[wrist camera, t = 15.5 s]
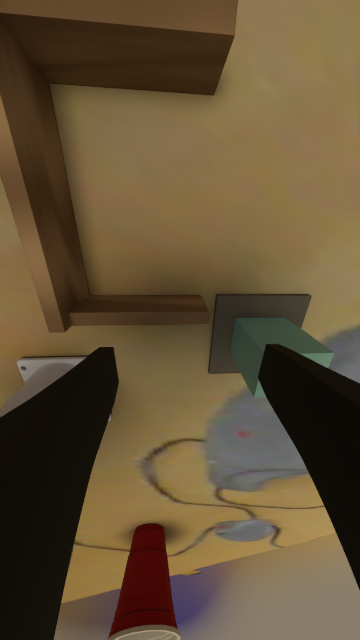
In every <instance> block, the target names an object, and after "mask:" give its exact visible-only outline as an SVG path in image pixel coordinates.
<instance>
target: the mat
mask: <svg viewBox="0 0 360 640" xmlns="http://www.w3.org/2000/svg"><path fill="white" fill-rule="evenodd" d="M310 299H311V295H309V294H216V302H215V311H214V321H213V330H212V340H211V349H210V359H209V369H208V372H209V374H219V373H241V372H240V370H239V369H238V367H237V365H236V363H235V361H234V359H233V357H232V355H231V354H230V349H231V343H232V337H233V331H234V324H235V318H286V319H288V320H289V321H291V322H292V323H293V324H295V325H296V326H298V327H299V328H300V329H301V327H302V324H303V321H304V318H305V314H306V311H307V308H308V305H309V302H310Z"/></svg>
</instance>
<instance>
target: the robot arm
mask: <svg viewBox="0 0 360 640" xmlns="http://www.w3.org/2000/svg"><path fill="white" fill-rule="evenodd" d="M17 366H18V368H19V370H20V373H21V375H22V377H23V380H24V382H25V383H24V384H23V385H22V386H21V387H20V388H19V389H18V390H17V391H16V392H15V393H14V395H13V396H12V397H11V398H10V399H9V400H8V401H7V402H6V403H5V404H4V405H3V406H2V407H1V408H0V640H53V639H54V635H55V629H56V625H57V620H58V615H59V610H60V605H61V600H62V595H63V590H64V586H65V581H66V577H67V572H68V569H69V565H70V562H71V557H72V552H73V546H74V540H75V536H76V532H77V528H78V524H79V519H80V515H81V511H82V507H83V502H84V498H85V494H86V491H87V487H88V483H89V479H90V475H91V471H92V467H93V464H94V461H95V458H96V454H97V452H98V449H99V446H100V443H101V440H102V437H103V434H104V431H105V428H106V426H107V423H108V422H110V421H111V418H112V416H111V411H112V408H113V405H114V402H115V397H116V393H117V388H118V383H119V381H118V374H117V367H116V361H115V354H114V348H113V347H100V348H98V349H97V350H95V351H94V352H93V353H91V354H90V355H89V356H87V357H50V358H21V359H19V360H18V361H17ZM25 367H26V368H25ZM258 379H259V382H260V384H261V387H262V389H263V391H264V393H265V396H266V398H267V399H268V401H269V403H270V404H271V406H272V408H273V410H274V411H275V413H276V415H277V416H278V418H279V420H280V421H281V423H282V425H283V426H284V428H285V430H286V431H287V433H288V435H289V436H290V438H291V440H292V441H293V443H294V445H295V446H296V448H297V450H298V452H299V454H300V456H301V457H302V459H303V462H304V464H305V466H306V468H307V470H308V472H309V474H310V476H311V478H312V480H313V482H314V484H315V486H316V488H317V491H318V493H319V495H320V497H321V499H322V502H323V504H324V506H325V508H326V510H327V512H328V515H329V517H330V519H331V522H332V524H333V526H334V529H335V531H336V533H337V536H338V538H339V540H340V542H341V545H342V547H343V550H344V552H345V554H346V557H347V559H348V562H349V564H350V567H351V569H352V572H353V574H354V577H355V579H356V582H357V584H358V587H359V589H360V383H357V382H355V381H353V380H351V379H349V378H347V377H345V376H343V375H341V374H339V373H336V372H334V371H332V370H330V369H328V368H326V367H324V366H323V365H321V364H319V363H317V362H315V361H313V360H311V359H309V358H307V357H305V356H303V355H301V354H299V353H297V352H295V351H293V350H291V349H289V348H287V347H285V346H282V345H280V344H266V346H265V350H264V354H263V358H262V362H261V366H260V370H259V374H258Z"/></svg>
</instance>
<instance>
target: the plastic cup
mask: <svg viewBox="0 0 360 640" xmlns="http://www.w3.org/2000/svg"><path fill="white" fill-rule="evenodd" d="M108 640H180V632H179V630H177V624H176V620H175V614H174V609H173V602H172V595H171V586H170V577H169V568H168V559H167V553H166V545H165V534H164V530H163V527H162V526H160V525H157V524H145V525H141V526H139V527H137V528H136V530H135V533H134V535H133V539H132V544H131V549H130V554H129V556H128V560H127V565H126V569H125V574H124V578H123V583H122V587H121V592H120V597H119V601H118V606H117V610H116V612H115V617H114V622H113V623H112V628H111V632H110V634H109V637H108Z"/></svg>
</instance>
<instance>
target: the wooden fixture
mask: <svg viewBox="0 0 360 640" xmlns="http://www.w3.org/2000/svg"><path fill="white" fill-rule="evenodd" d="M237 5H238V0H0V175H1V179H2V182H3V185H4V188H5V192H6V195H7V198H8V201H9V204H10V208H11V211H12V214H13V217H14V221H15V224H16V227H17V230H18V233H19V237H20V240H21V243H22V246H23V249H24V253H25V256H26V259H27V262H28V266H29V269H30V272H31V275H32V278H33V282H34V285H35V288H36V291H37V295H38V298H39V301H40V304H41V307H42V311H43V314H44V317H45V320H46V323H47V327H48V330H49V333H50V332H66V331H67V330H68V329H69V328H70V327H71V326H83V325H166V324H208V320H209V310H208V309H207V307H206V305H205V303H204V301H203V299H202V298H201V296H200V295H91V296H89V291H88V286H87V280H86V275H85V270H84V265H83V259H82V254H81V249H80V244H79V238H78V233H77V228H76V223H75V217H74V212H73V207H72V202H71V196H70V191H69V186H68V181H67V175H66V170H65V165H64V160H63V154H62V149H61V144H60V139H59V133H58V128H57V123H56V118H55V112H54V107H53V102H52V97H51V91H50V86H49V83H57V84H71V85H85V86H98V87H112V88H125V89H139V90H153V91H166V92H180V93H193V94H207V95H214V93H215V90H216V88H217V85H218V82H219V79H220V76H221V73H222V70H223V67H224V65H225V62H226V59H227V56H228V53H229V50H230V47H231V45H232V42H233V39H234V36H235V27H236V16H237Z"/></svg>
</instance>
